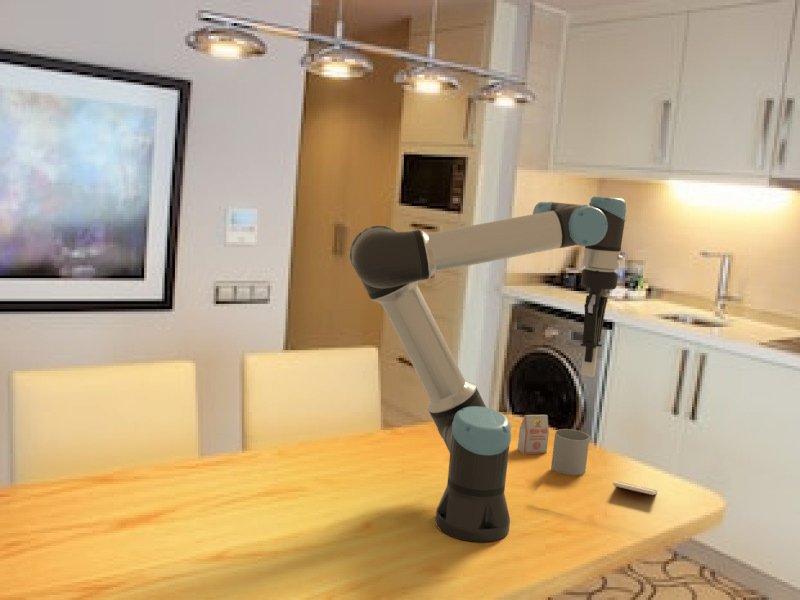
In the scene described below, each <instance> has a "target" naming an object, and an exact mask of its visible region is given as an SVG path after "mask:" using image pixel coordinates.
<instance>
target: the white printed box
mask: <svg viewBox="0 0 800 600" xmlns="http://www.w3.org/2000/svg"><path fill="white" fill-rule="evenodd" d="M549 432H550V429H549V416H548V414H525V415H523V418H522V422H521V423H520V426H519V431H518V442H517V450H518V451H519V452H521V454H523V455H529V454H530V455H532V454H547V452H548V445H549V444H548V442H549V434H550V433H549Z"/></svg>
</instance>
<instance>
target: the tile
mask: <svg viewBox="0 0 800 600" xmlns="http://www.w3.org/2000/svg"><path fill="white" fill-rule="evenodd" d="M612 486H613V487H617V488H621V489H625V490H628V491H629V490H630V491H632V492H637V493H641V494H642V493H643V494H646V495H651V496H654V495H657V494H658V490H656V489H654V488H653V489H652V488H648V487H646V486H640V485H637V484H630V483H627V482H623V481H612Z"/></svg>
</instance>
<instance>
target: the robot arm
mask: <svg viewBox="0 0 800 600" xmlns="http://www.w3.org/2000/svg"><path fill="white" fill-rule="evenodd" d="M626 212H627V204H626V201H625V200H624V199H623V198H620V197H619V198H617V197H605V196H604V197H603V196H592V197H591V198H590V201H589V204H575V203H565V202H564V203H562V202H554V201H540V202H538V203H536V205H535V206H534V208H533V212H532V214H527V215H523V216H516V217H512V218H505V219H501V220H495V221H494V220H493V221H489V222H484V223H479V224H474V225H468V226H463V227H457V228H452V229H446V230H441V231H435V232H429V233H427V232H426V231H424V230H422V229H418V230H412V231H396V230H395V229H393V228H391V227H389V226H386V225H374V226H370V227H367V228H365V229H364V230H362V231H360V232H359V233H358V234H357V235H356V236H355V238H354V239H353V240H352V241H351V242H352V243H351V245H350V248H349V260H350V264H351V266H352V267H353V269H354V271H355V273H356V275H357V276H358V278H359V279H360V282H361V283H362V285H363V287H364V289H365V291H366V292H367V295H368V297H369V299H370V300H371V301H373V302H375V303H379V304H380V305H381V306H382V308H383V309H384V312H385V314H386V316H387V317H388V319H389V321H390V323H391V325H392V327H393V329H394V331H395V333H396V336H398V337H397V338H398V339H399V341H400V343H401V344H402V347H403V350H405V353H406V355H407V356H408V358H409V360H410V363H411V365H412V366H413V368H414V370H415V372H416V374H417V376H418V377H419V380H420V382H421V383H422V385H423V387H424V389H425V392H426V394H427V395H428V398H429V402H428V404H427V410H428V412H429V415H430V416H431V418H432V420H433V422H434V424H435V426H436V428H437V429H436V430H437V431H438V433H439V436H440V437H441V439H442V440H443V442H444V444H445V446H446V448H447V450H448V452H449V463H448V471H447V483H446V487H445V489H444V492H443V494H442V496H441V498H440V501H439V503H438V505H437V507H436V511H435V517H434V518H435V520H434V521H435V522H436V523H435V525H436V524H437V525H436V527H437V526H438V527H439V528H440V529H441V530H442V531H441V530H440V529H439V528H438V527H437V528H438V529H439V530H440V531H441V532H443V533H444V532H445V533H444V534H446V535H448V536H450V537H452V536H453V537H452V538H455V537H456V538H455V539H458V540H462V541H468V542H472V543H473V542H475V543H487V542H488V543H489V542H495V541H499V540H501V539H503V538H505V537H506V536H507V535H508V534H509V532H510V524H511V519H510V518H511V517H510V513H509V509H508V503H507V499H506V495H505V490H506V489H505V488H506V479H507V473H508V472H507V471H508V461H509V453H510V445H511V441H512V432H511V428H512V427H511V423H510V420H509V419H508V418H507V416H505V415H504V414H503V413H502V412H500V411H496V410H495V409H493V408H490V407H487V405H486V403H485V401H484V400H483V398H482V396H481V394H480V391H479V389H478V388H477V386H476V384H475V383H474V382H470V381H468V380H467V381H466V380H465V377H464V376H463V373H462V372H461V370H460V367H459V366H458V363H457V362H456V359H455V358H454V355H453V354H452V352H451V350H450V348H449V346H448V344H447V342H446V339H445V337H444V336H443V334H442V332H441V330H440V328H439V325H438V324H437V322H436V319H435V318H434V316H433V314H432V311H431V309H430V308H429V305H428V304H427V301H426V300H425V298H424V296H423V293H422V292H421V289H420V287H419V286H418V284H419V282H420V281H425V280H430V279H431V277H432V276H433V275H434V274H435V273H438V272H442V271H443V272H444V271H448V270H453V269H458V268H463V267H464V268H465V267H469V266H473V265H479V264H484V263H490V262H494V261H499V260H505V259H511V258H515V257H520V256H524V255H532V254H537V253H540V252H542V253H543V252H545V251H551V250H557V249H562V248H563V249H564V248H568V247H569V248H570V247H574V246H582V247H584V251H583V259H582V265H583V267H584V268H583V269H582V270H581V277H580V285H581V286H582V287H585V288H589V292H588V293H589V294H588V295H586V296H585V303H584V317H583V319H584V320H583V333H582V334H583V336H582V342H581V343H580V347H583V352H582V361H581V370H580V376H584V377H591V378H594V377H595V373H596V366H597V357H598V350H599V349H598V348H602V345H603V343H600V342H601V339H602V338H601V337H602V331H603V328H604V327H603V326H604V320H605V313H606V309H607V304H608V296H606V293H607V291H608V290H614V289H617V285H618V276H619V273H618V272H617V270H619V267H620V261H623V259H624V258H623V256H622V255H621V251H622V243H623V236H624V231H625V230H624V229H625V222H626ZM606 290H607V291H606Z"/></svg>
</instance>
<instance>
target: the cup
mask: <svg viewBox="0 0 800 600" xmlns="http://www.w3.org/2000/svg"><path fill="white" fill-rule="evenodd" d="M553 440H554V441H553V449H552V455H551V458H552V459H551V465H550V466H551V467H550V473H552V472H553V471H555V472H557V473H559V474H562V475H567V476H582V475H583V474H585V473H586V472H587V471H586V469H587V461H588V453H589V446H590V445H589V444H590V435H589V434H587V433H586V432H583V431H581V430H577V429H576V430H575V429H568V428H563V429H562V428H561V429H557V430H555V432H554V439H553Z"/></svg>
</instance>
